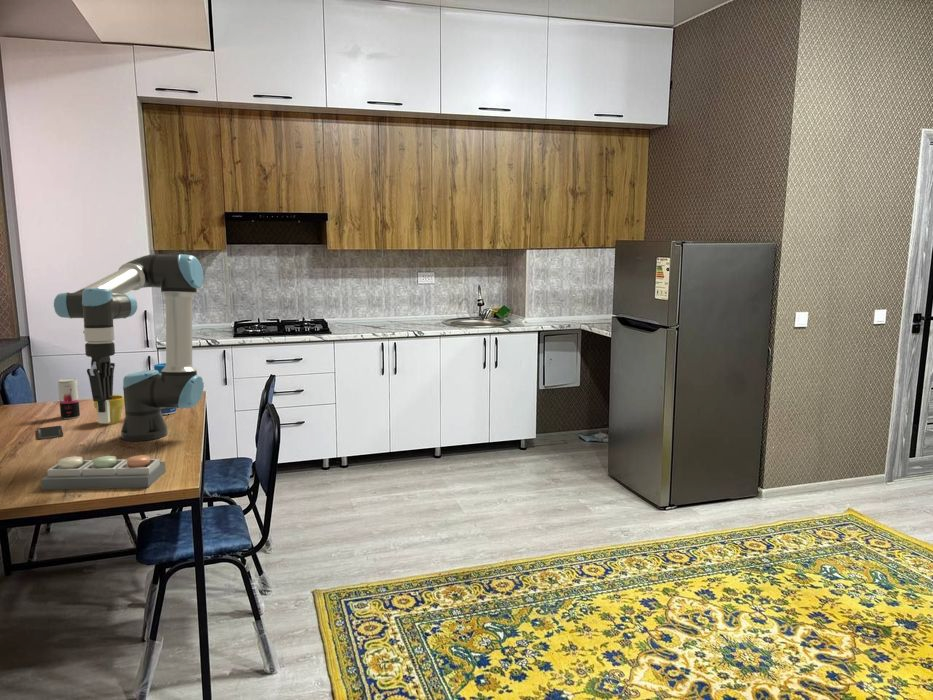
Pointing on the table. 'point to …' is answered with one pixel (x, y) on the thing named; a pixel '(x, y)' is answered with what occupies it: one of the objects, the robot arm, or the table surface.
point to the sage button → (104, 462)
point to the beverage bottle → (164, 410)
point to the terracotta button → (138, 461)
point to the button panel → (103, 476)
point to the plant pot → (114, 408)
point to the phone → (49, 432)
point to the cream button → (70, 462)
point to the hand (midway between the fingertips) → (104, 422)
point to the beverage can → (68, 398)
